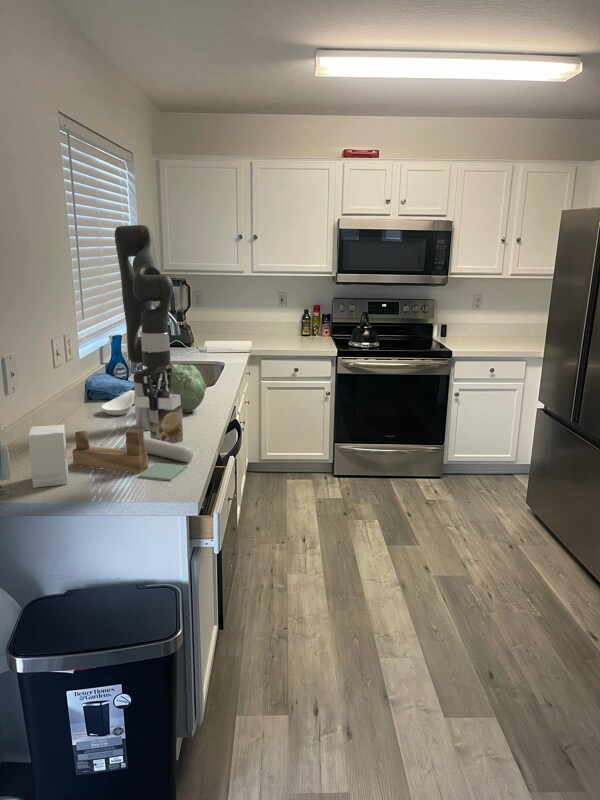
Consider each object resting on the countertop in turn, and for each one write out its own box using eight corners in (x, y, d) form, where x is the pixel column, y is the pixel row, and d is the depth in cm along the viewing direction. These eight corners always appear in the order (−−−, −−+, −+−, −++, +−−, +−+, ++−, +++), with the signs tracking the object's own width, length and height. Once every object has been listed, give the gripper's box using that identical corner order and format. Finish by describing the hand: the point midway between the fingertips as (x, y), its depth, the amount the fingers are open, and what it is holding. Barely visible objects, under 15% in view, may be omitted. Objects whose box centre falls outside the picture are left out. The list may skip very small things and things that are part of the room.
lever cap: (145, 402, 168) (145, 386, 167) (180, 404, 165) (180, 389, 164) (136, 406, 163) (135, 390, 162) (172, 409, 160) (171, 393, 159)
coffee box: (160, 446, 192) (158, 399, 188) (150, 442, 196) (147, 396, 192) (183, 440, 198) (182, 395, 194) (173, 436, 202) (171, 391, 199)
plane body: (82, 461, 177) (79, 423, 174) (148, 467, 172) (146, 429, 169) (73, 466, 173) (70, 427, 170) (140, 473, 168) (138, 433, 165)
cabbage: (206, 416, 228) (205, 366, 223) (157, 417, 226) (155, 367, 221) (207, 406, 243) (205, 359, 239) (161, 407, 241) (159, 360, 236)
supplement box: (68, 484, 159) (63, 432, 155) (32, 488, 156) (27, 435, 153) (69, 473, 167) (64, 423, 164) (35, 476, 164) (30, 426, 161)
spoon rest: (121, 419, 224) (119, 401, 222) (95, 416, 227) (94, 398, 226) (154, 405, 246) (153, 388, 244) (130, 402, 249) (129, 386, 247)
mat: (156, 464, 175) (156, 462, 175) (187, 467, 173) (187, 465, 173) (138, 477, 165) (138, 475, 165) (170, 480, 163) (170, 478, 162)
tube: (194, 464, 179) (135, 449, 191) (197, 447, 179) (138, 433, 191) (183, 464, 174) (123, 449, 186) (186, 446, 174) (126, 432, 186)
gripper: (155, 344, 168) (158, 401, 172) (130, 351, 154) (133, 413, 158) (179, 345, 166) (182, 402, 170) (155, 353, 152) (158, 415, 156)
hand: (158, 407), depth 164 cm, fingers closed on lever cap, 5 cm apart
